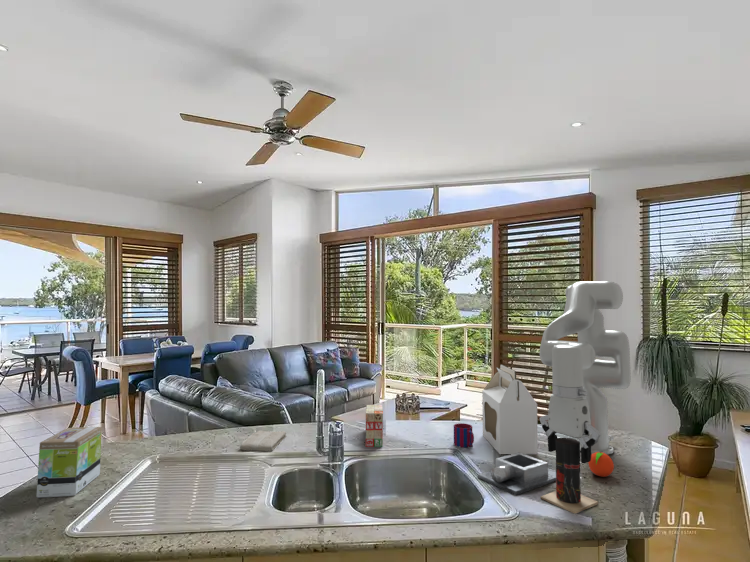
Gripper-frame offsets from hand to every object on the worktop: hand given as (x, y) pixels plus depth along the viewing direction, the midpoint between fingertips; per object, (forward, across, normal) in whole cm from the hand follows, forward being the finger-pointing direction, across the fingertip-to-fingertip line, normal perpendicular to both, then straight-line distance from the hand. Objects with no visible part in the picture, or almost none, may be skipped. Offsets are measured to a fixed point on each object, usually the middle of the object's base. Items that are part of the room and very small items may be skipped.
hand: (568, 456), depth 119 cm
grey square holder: (+12, +17, -1) cm, 20 cm away
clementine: (+12, +5, -22) cm, 26 cm away
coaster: (+12, 0, +1) cm, 12 cm away
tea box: (+10, +82, +112) cm, 139 cm away
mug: (+12, +47, -7) cm, 49 cm away
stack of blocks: (+12, +72, +15) cm, 75 cm away
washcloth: (+12, +89, +53) cm, 104 cm away
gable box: (+13, +40, -22) cm, 47 cm away
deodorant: (+11, 0, +1) cm, 11 cm away
